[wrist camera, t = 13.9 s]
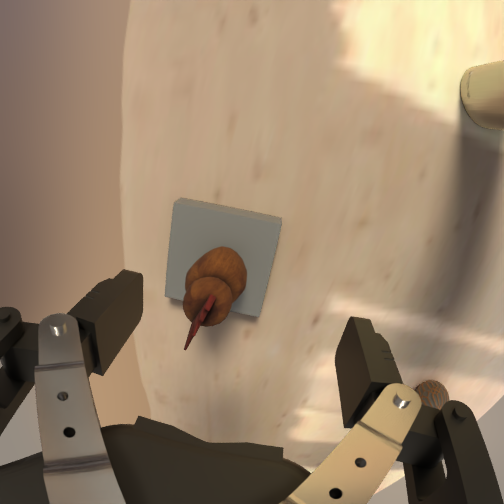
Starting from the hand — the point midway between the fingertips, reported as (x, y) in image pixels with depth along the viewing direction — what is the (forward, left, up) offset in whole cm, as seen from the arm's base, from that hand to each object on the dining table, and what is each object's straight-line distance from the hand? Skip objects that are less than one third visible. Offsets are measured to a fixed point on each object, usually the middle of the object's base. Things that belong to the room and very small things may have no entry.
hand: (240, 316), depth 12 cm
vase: (-37, +29, -29) cm, 55 cm away
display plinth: (+4, +10, -29) cm, 31 cm away
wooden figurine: (+3, +10, -26) cm, 28 cm away
